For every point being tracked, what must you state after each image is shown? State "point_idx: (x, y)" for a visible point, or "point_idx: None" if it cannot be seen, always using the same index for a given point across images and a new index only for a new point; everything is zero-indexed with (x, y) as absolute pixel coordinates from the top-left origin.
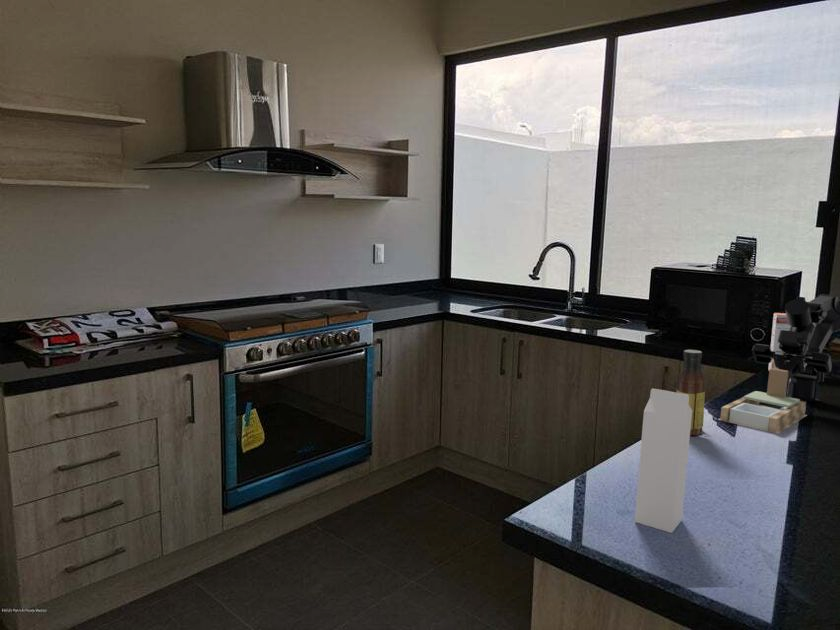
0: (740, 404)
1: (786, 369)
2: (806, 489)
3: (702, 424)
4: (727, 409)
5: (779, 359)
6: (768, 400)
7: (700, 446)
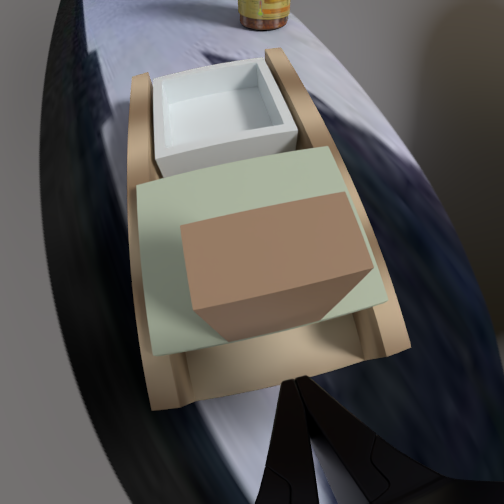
0: (284, 104)
1: (309, 468)
2: (70, 33)
3: (238, 8)
4: (265, 53)
5: (457, 494)
6: (229, 175)
7: (209, 9)
